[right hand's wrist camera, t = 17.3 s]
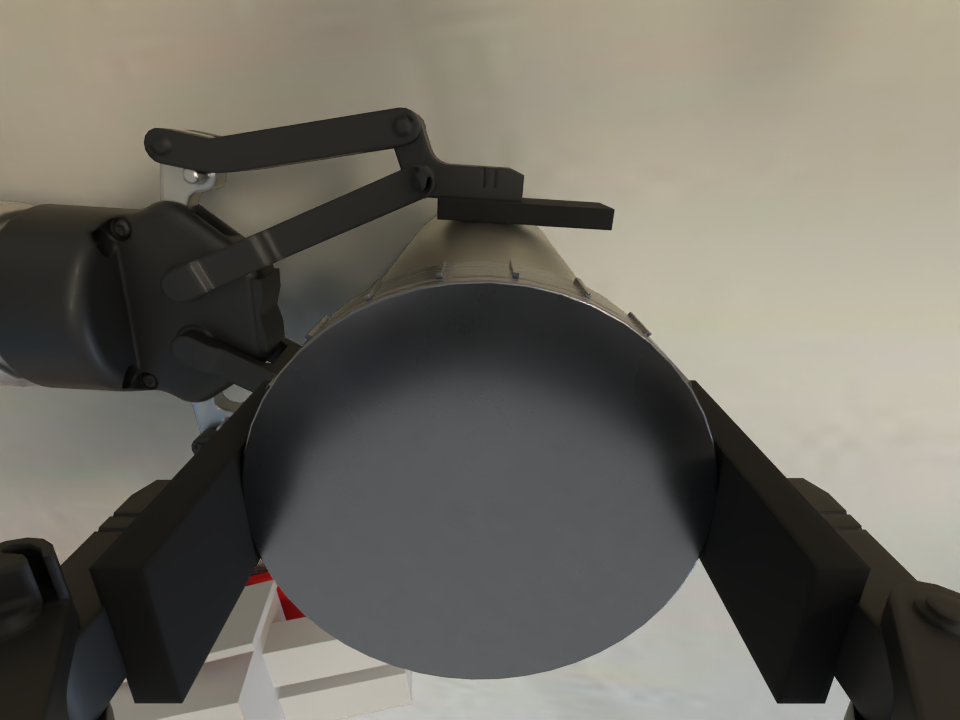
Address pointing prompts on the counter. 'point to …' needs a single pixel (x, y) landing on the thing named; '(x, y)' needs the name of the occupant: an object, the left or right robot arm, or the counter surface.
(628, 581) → the lid
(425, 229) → the jar
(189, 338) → the left robot arm
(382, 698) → the toy
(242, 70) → the counter surface
